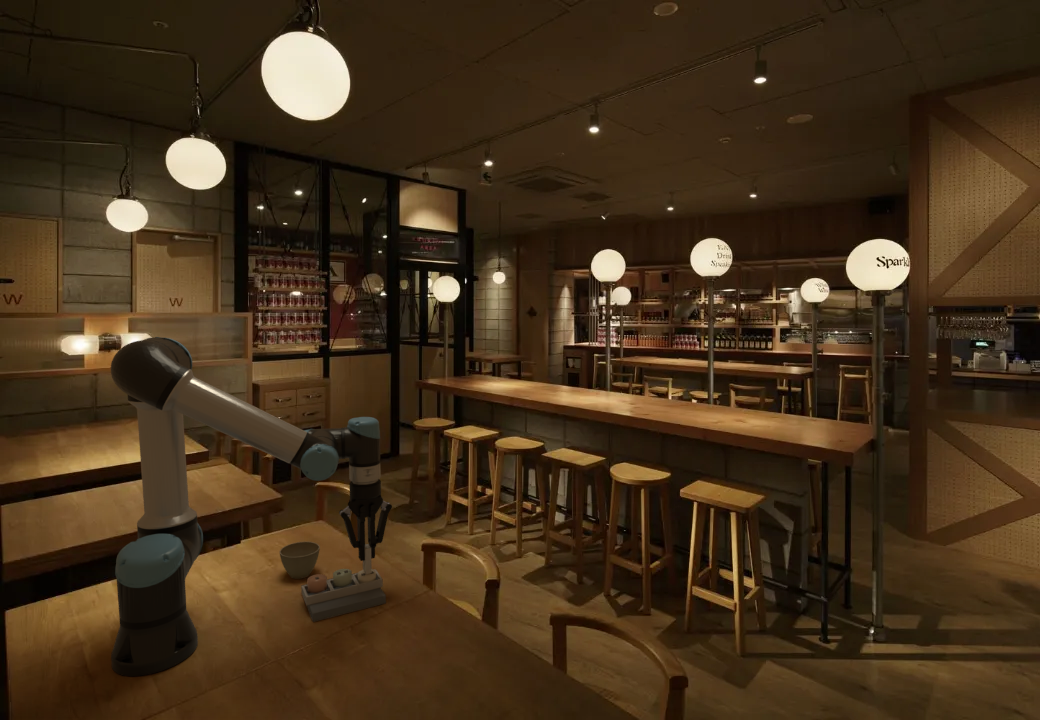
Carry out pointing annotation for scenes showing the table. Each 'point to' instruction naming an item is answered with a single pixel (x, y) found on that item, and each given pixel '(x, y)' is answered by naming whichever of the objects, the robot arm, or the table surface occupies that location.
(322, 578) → the terracotta button
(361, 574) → the cream button
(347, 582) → the sage button
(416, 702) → the table surface
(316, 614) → the panel
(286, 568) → the grey bowl
